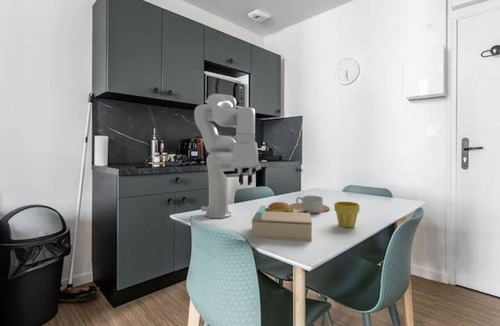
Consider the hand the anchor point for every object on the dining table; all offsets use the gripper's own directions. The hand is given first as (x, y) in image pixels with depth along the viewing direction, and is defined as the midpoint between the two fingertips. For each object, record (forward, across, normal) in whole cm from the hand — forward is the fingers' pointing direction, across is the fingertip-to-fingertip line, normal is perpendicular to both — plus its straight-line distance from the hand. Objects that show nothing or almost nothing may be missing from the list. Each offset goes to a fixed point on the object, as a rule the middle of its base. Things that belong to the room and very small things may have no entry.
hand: (245, 184), depth 109 cm
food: (+19, +12, +22) cm, 32 cm away
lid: (+13, +15, 0) cm, 20 cm away
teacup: (+19, +27, +39) cm, 51 cm away
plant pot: (+19, +42, +16) cm, 49 cm away
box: (+19, +15, 0) cm, 24 cm away
